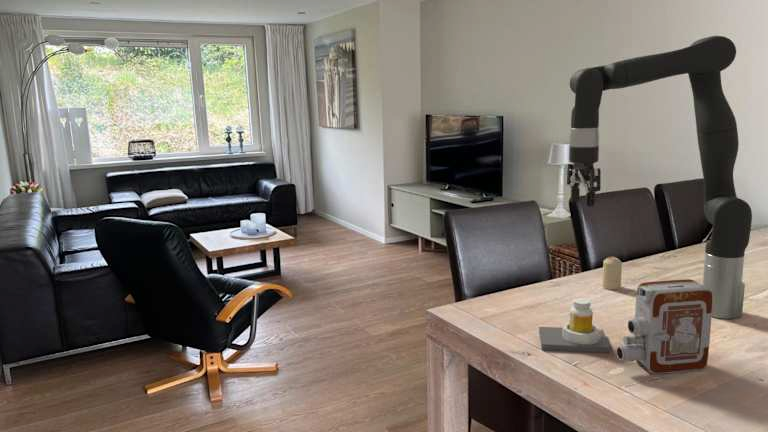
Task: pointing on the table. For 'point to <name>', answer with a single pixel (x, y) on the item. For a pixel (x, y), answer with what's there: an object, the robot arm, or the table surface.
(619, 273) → the candle
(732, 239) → the robot arm
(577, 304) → the supplement bottle
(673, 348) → the cine camera
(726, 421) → the table surface
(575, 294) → the table surface
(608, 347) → the mount plate
